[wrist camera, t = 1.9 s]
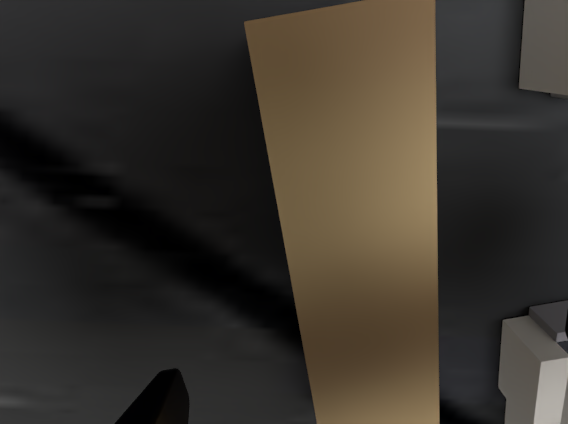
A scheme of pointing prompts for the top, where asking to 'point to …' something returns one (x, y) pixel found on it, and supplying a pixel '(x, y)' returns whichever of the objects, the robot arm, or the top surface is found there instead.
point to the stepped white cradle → (549, 317)
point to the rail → (357, 199)
